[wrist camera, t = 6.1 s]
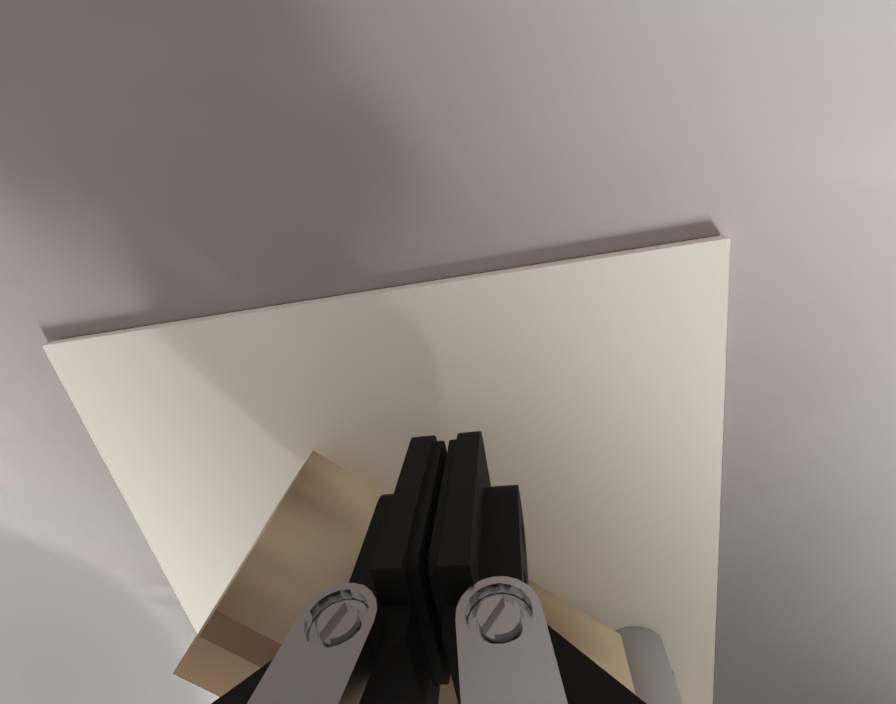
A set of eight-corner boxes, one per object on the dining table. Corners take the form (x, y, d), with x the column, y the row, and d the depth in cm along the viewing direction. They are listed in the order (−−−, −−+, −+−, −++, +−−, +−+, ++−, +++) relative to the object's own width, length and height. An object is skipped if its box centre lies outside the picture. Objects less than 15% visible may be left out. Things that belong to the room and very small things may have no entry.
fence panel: (621, 633, 15) (686, 885, 10) (593, 655, 15) (640, 904, 10) (313, 449, 13) (199, 636, 8) (293, 479, 14) (173, 673, 9)
